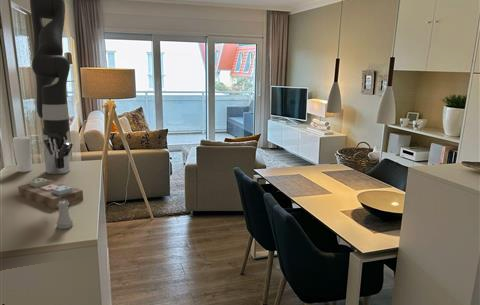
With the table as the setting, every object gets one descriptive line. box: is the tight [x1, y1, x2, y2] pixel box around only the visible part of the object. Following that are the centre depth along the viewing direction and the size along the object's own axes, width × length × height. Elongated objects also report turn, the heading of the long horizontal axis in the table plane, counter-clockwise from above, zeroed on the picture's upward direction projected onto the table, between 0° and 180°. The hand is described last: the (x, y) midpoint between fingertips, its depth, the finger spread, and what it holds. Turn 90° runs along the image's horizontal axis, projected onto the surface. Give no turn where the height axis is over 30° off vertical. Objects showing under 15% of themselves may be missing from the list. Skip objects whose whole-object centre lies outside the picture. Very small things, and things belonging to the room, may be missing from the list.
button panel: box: [17, 178, 84, 210], centre depth 125 cm, size 21×11×4 cm, turn 59°
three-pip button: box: [28, 177, 48, 188], centre depth 127 cm, size 4×4×2 cm
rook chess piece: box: [56, 200, 74, 230], centre depth 103 cm, size 4×4×8 cm
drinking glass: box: [12, 135, 33, 173], centre depth 152 cm, size 7×7×15 cm
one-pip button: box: [40, 184, 59, 192], centre depth 124 cm, size 4×4×2 cm
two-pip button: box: [52, 184, 72, 196], centre depth 121 cm, size 4×4×2 cm
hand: (60, 167), depth 119 cm, fingers closed
